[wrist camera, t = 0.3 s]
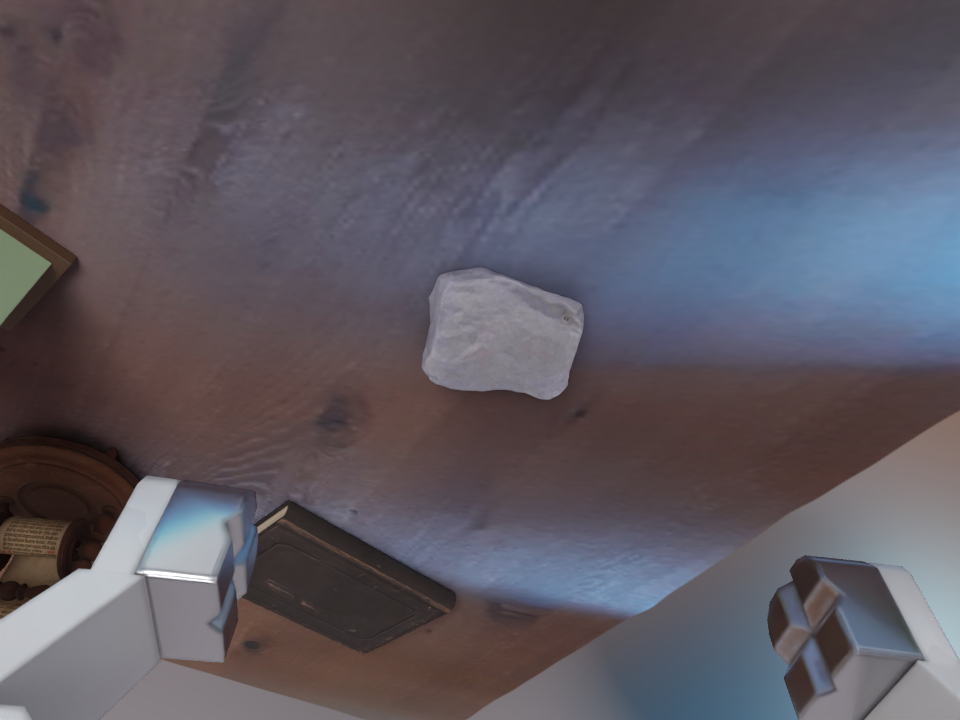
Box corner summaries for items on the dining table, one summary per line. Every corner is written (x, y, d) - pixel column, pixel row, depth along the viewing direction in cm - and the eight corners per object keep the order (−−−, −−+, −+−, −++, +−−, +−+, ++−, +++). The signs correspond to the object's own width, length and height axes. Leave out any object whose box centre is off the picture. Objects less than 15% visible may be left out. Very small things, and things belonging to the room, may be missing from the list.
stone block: (434, 248, 54) (420, 362, 59) (433, 274, 50) (418, 395, 55) (588, 267, 56) (562, 378, 60) (600, 294, 51) (570, 410, 56)
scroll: (19, 514, 75) (-102, 712, 60) (-29, 416, 65) (-189, 623, 50) (165, 527, 76) (81, 726, 61) (137, 432, 66) (30, 641, 51)
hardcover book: (367, 637, 90) (364, 655, 88) (205, 558, 80) (198, 577, 78) (456, 590, 83) (455, 609, 81) (291, 497, 72) (285, 516, 70)
